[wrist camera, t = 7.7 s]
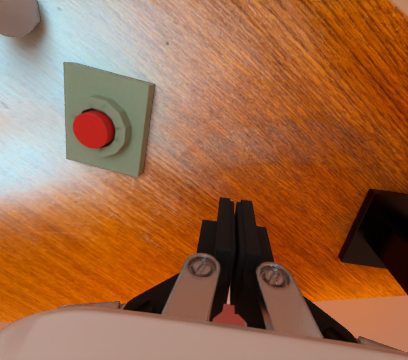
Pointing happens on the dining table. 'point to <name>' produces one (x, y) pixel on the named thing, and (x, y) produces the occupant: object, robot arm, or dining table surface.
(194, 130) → the dining table surface
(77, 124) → the button
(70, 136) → the button box
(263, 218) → the dining table surface
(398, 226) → the bracket
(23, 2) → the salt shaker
